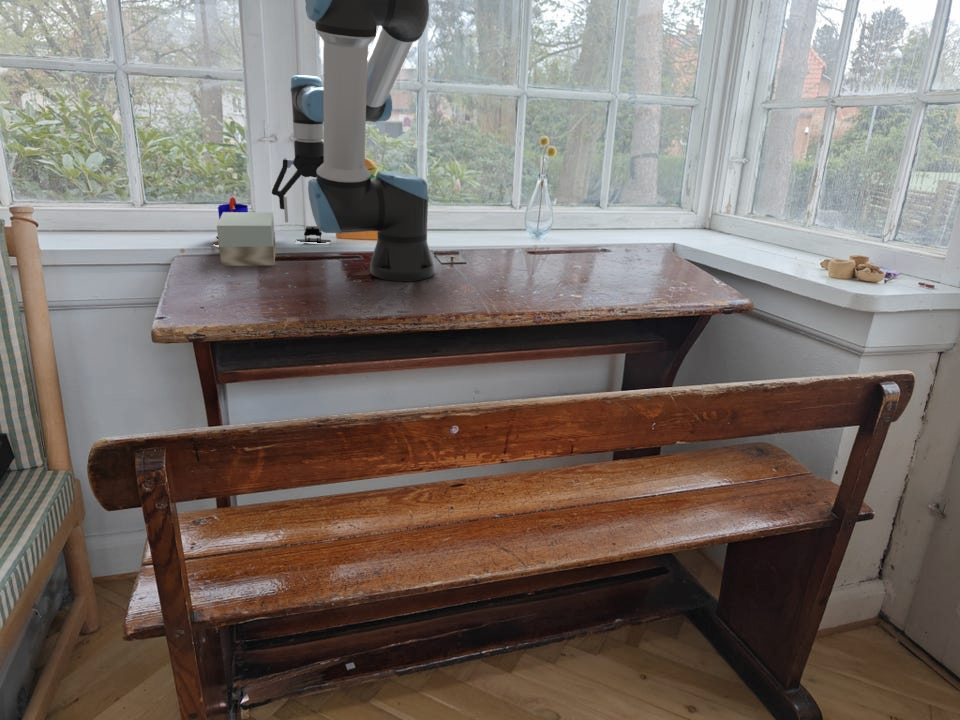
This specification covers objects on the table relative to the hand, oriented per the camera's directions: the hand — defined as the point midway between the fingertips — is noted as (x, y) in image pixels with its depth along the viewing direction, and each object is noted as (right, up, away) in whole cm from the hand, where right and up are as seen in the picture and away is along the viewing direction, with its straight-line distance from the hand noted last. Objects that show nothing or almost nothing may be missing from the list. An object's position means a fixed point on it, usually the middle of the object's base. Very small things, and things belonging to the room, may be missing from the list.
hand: (312, 221), depth 180 cm
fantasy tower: (-20, -7, -3) cm, 21 cm away
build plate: (0, -6, +1) cm, 6 cm away
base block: (-11, -13, -16) cm, 23 cm away
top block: (-11, -8, -18) cm, 23 cm away
